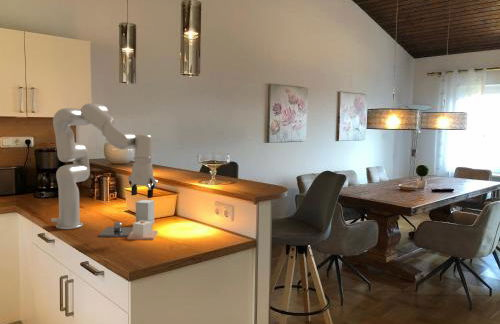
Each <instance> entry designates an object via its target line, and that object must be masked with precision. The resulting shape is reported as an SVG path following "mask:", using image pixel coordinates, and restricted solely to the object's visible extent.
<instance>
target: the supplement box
mask: <svg viewBox="0 0 500 324" xmlns="http://www.w3.org/2000/svg"><path fill="white" fill-rule="evenodd" d="M139 221H148V222H152V225H154V224H155V200H153V199H152V200H150V199H149V200H148V199H141V200H139V201H136V202H135V222H139Z"/></svg>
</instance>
